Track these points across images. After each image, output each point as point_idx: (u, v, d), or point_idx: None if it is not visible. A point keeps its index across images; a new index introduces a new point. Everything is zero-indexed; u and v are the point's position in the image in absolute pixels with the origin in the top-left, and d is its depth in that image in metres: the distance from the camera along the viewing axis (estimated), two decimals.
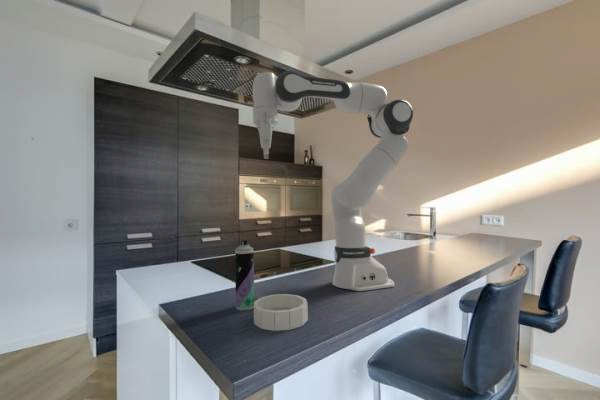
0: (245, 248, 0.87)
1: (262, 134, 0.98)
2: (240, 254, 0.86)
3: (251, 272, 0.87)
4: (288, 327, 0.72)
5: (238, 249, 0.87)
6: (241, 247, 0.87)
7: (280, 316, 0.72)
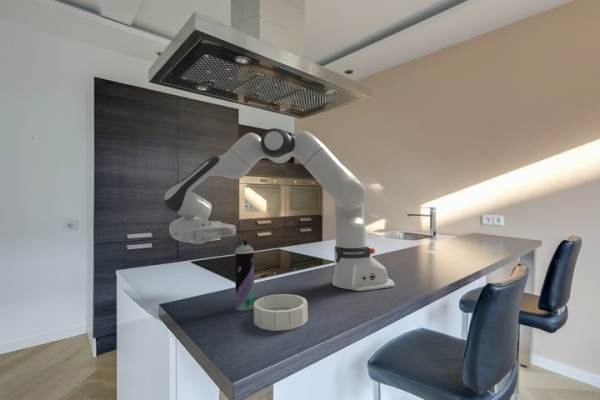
0: (245, 248, 0.87)
1: (182, 238, 0.93)
2: (240, 254, 0.86)
3: (251, 272, 0.87)
4: (288, 327, 0.72)
5: (238, 249, 0.87)
6: (241, 247, 0.87)
7: (280, 316, 0.72)
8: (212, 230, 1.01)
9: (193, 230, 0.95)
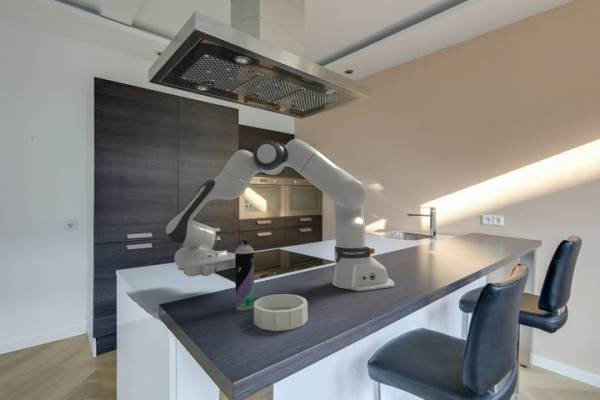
0: (245, 248, 0.87)
1: (189, 274, 0.91)
2: (240, 254, 0.86)
3: (251, 272, 0.87)
4: (288, 327, 0.72)
5: (238, 249, 0.87)
6: (241, 247, 0.87)
7: (280, 316, 0.72)
8: (219, 263, 0.98)
9: (200, 265, 0.92)
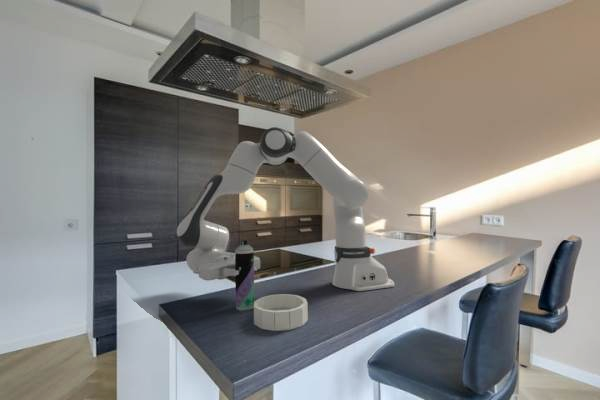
0: (245, 248, 0.87)
1: (206, 278, 0.84)
2: (240, 254, 0.86)
3: (251, 272, 0.87)
4: (288, 327, 0.72)
5: (238, 249, 0.87)
6: (241, 247, 0.87)
7: (280, 316, 0.72)
8: None
9: (217, 268, 0.86)
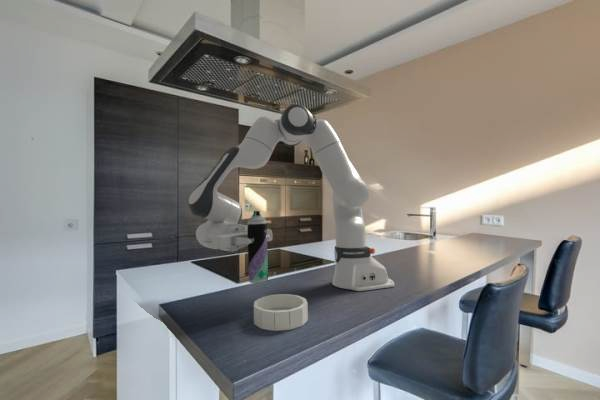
0: (258, 219, 0.83)
1: (218, 247, 0.81)
2: (253, 225, 0.82)
3: (264, 244, 0.84)
4: (288, 327, 0.72)
5: (251, 220, 0.83)
6: (254, 218, 0.83)
7: (280, 316, 0.72)
8: None
9: (229, 237, 0.82)
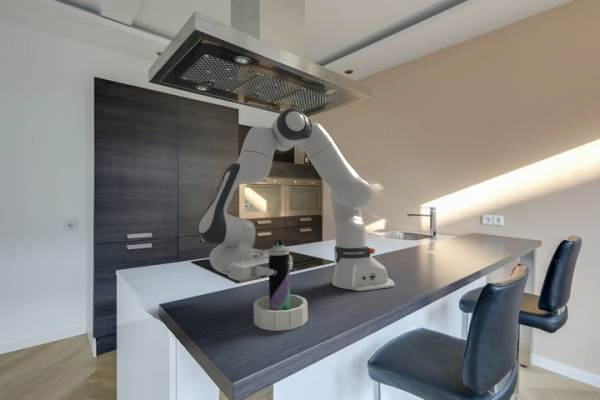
0: (281, 249, 0.77)
1: (237, 278, 0.75)
2: (276, 256, 0.76)
3: (287, 276, 0.78)
4: (288, 327, 0.72)
5: (273, 250, 0.77)
6: (276, 248, 0.77)
7: (280, 316, 0.72)
8: (268, 264, 0.82)
9: (249, 267, 0.76)
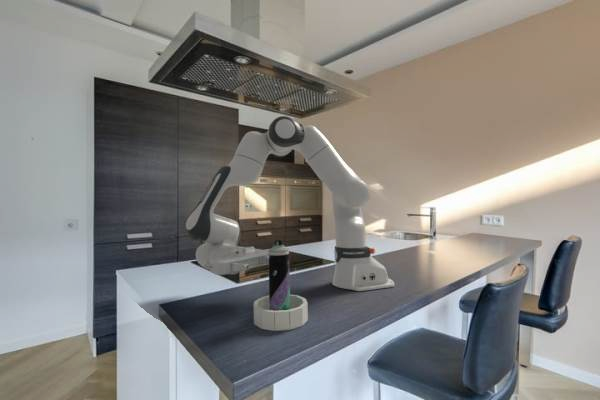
0: (280, 249, 0.77)
1: (218, 272, 0.81)
2: (276, 256, 0.76)
3: (287, 276, 0.78)
4: (288, 327, 0.72)
5: (273, 250, 0.77)
6: (276, 248, 0.77)
7: (280, 316, 0.72)
8: (248, 260, 0.88)
9: (230, 262, 0.83)
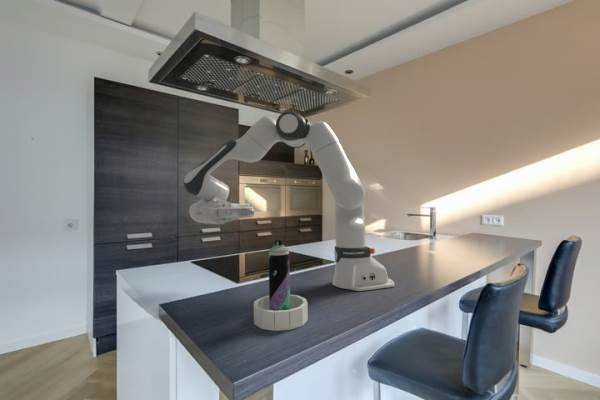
0: (280, 249, 0.77)
1: (206, 217, 0.97)
2: (276, 256, 0.76)
3: (287, 276, 0.78)
4: (288, 327, 0.72)
5: (273, 250, 0.77)
6: (276, 248, 0.77)
7: (280, 316, 0.72)
8: (233, 210, 1.05)
9: (216, 209, 0.99)
